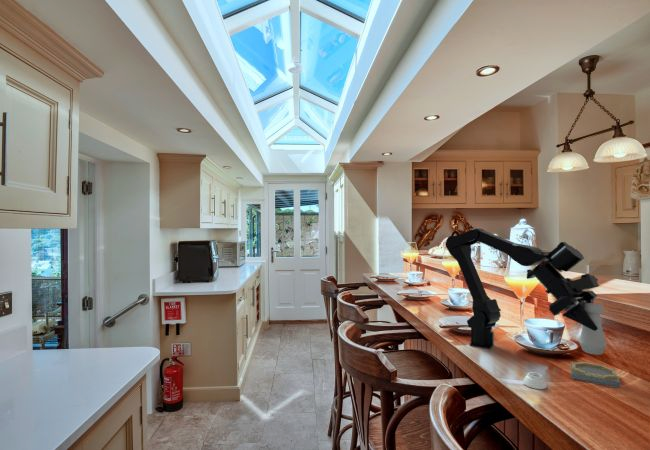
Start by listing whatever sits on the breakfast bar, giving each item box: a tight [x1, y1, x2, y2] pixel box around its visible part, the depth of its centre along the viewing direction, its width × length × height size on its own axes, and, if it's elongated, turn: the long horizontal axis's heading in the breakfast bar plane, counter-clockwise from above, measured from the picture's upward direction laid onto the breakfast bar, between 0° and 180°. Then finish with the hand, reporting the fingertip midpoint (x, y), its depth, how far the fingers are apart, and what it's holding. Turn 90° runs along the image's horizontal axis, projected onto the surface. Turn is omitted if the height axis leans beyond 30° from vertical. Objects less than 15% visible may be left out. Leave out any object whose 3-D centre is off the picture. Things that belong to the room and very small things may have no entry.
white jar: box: [522, 371, 547, 390], centre depth 90 cm, size 5×3×5 cm
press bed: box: [570, 361, 621, 389], centre depth 96 cm, size 10×10×2 cm
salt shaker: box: [579, 302, 607, 356], centre depth 96 cm, size 6×6×13 cm
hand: (599, 328), depth 95 cm, fingers closed on salt shaker, 3 cm apart
